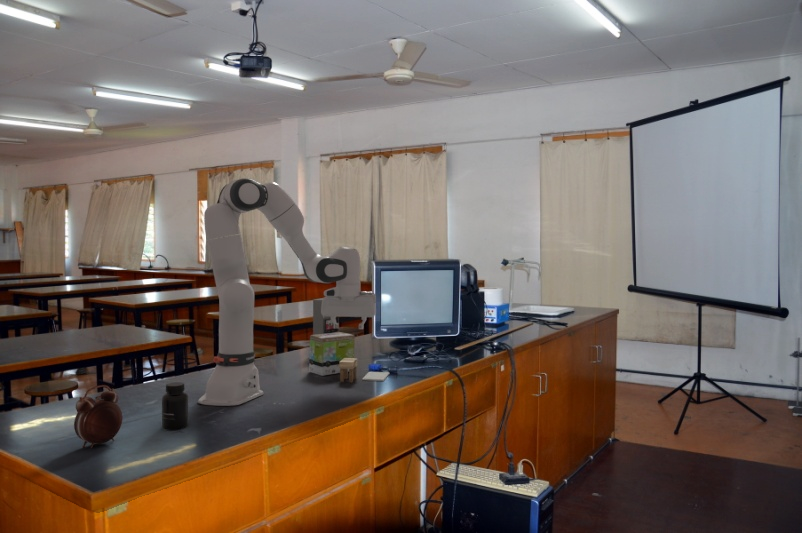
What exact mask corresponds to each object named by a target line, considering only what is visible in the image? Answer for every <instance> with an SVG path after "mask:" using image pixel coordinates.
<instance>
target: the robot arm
mask: <svg viewBox="0 0 802 533" xmlns="http://www.w3.org/2000/svg"><path fill="white" fill-rule="evenodd" d="M254 210H258V211H260V212H261V213H262V214H264V217H265V218H266V220H267V221H268V222H269V223H270V225H271V226H272V227H273V228H274V229H275V231H276V232H277V233H279V235H280V236H281V237H282V238H283V239H284V240H285V241H286V242H287V244H288V246H289V247H290V249H292V251H293V253H294V254H295V255H296V257H297V258H298V260H299V261H300V263H301V266H302V267H301V268H302V271H303V274H304V276H305V278H306V279H308V281H310V282H312V283H317V284H318V283H320V284H321V283H322V284H331V283H332V284H333V283H334V282H336V283H335V284H336V286H335V287H331V288H328V289H326V290H324V291H323V296H324V297H322V298H323V300H322V305H321V314H322V315H323V316H331V321H332V322H333V324H334V329H338V328H340V322H339V323H336V321H335V319H336V316H339V317H345V318H347V317H350V318H353V317H354V318H361V320H362V322H360V323H358V330H364V324H365V323H366V321H367V318H374V317H375V316H376V314H377V307H376V303H377V295H376V293H374V292H373V291H361V279H360V275H361V256H360V252H359V250H357V249H356V248H353V247H349V246H348V247H347V246H340V247H338V248H337V249H336V250H334V251H332V252H331V253H329V254H327V255H324V256H323V255H320V254H319V253H317V252H316V250H314V248H313V247H312V246H311V244H310V243H309V241H308V239H307V238H306V236H305V235H304V232H303V228H304V225H305V216H304V215H303V212H302V211H301V209H300V207H298V205H297V204H296V202H295V201H294V200H293V198H292V197H291V195H289V194H288V193H287V192H286V190H285V189H283V187H282V186H280V184H278V183H276V182H275V181H270V182H265V183H264V184H262V183H260V182H258V181H256V180H253V179H252V178H246V177H245V178H239V179H234V180H232V181H230V182H229V183H227V184H225V185H224V186H223V187H222V188H221V190H220V193H219V195H218V199H217V202H216V203H214V204H211V205H209V206H208V207H206V209H205V210H204V215H203V216H204V217H203V221H204V232H205V237H206V243H207V244H206V245H207V248H208V252H209V257H210V262H211V267H212V273H213V276H214V277H213V278H214V283H215V286H216V292H217V296H218V299H219V302H218V303H219V308H218V310H219V312H218V314H219V316H218V318H219V319H218V353H217V355H216V356H213V359H212V362H213V363H215V364H216V366H215V367H214V370H213V371H212V372H211V375H210V376H209V379H208V380H207V381H206V383H205V384H206V386H205V393H204V394H203V395H201V397H200V398H199V399H198V401H197V403H198V404H201V405H206V406H223V407H225V406H227V407H228V406H229V407H230V406H239V405H241V404H245V403H247V402H249V401H251V400H253V399H256V398H258V397H261V396H263V395H264V391H263V390H261V387H260V376H259V369H258V368H257V366H256V365H255V356H256V354H255V350H254V320H255V318H254V317H255V290H254V287H253V286H252V285H251V283H250V277H249V272H248V267H247V258H246V253H245V249H244V243H243V238H242V233H241V229H240V226H239V224H240V222H239V220H240V216H241V214H245V213H248V212H251V211H254ZM338 325H339V326H338Z"/></svg>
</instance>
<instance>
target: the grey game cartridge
mask: <svg viewBox="0 0 802 533" xmlns="http://www.w3.org/2000/svg"><path fill="white" fill-rule="evenodd" d="M323 298H324V297H322V298H316V299H315V298H314V299H313V300H312V335H318V334H327V333H338V332H340V331H339V328H340V321H339V320H340V318H339V317H340V316H336V319H335V321H336V323H339V325H338V326H339V328H338V329H334V324H333V322H332V321H331V316H323V315H322V314H321V305H322V300H323Z"/></svg>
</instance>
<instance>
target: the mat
mask: <svg viewBox="0 0 802 533" xmlns="http://www.w3.org/2000/svg"><path fill="white" fill-rule="evenodd" d="M389 376H390V372H385V371H384V372H382V371H368V372H367V373H366V374H365V375H364V377H362V381H370V382H371V381H372V382H384V381H385V380H386V379H387V378H388V377H389Z"/></svg>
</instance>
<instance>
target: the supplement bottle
mask: <svg viewBox="0 0 802 533" xmlns="http://www.w3.org/2000/svg"><path fill="white" fill-rule="evenodd" d="M165 392H166V393H164V394H163V395H162V397H161V428H162V429H164V430H166V431H178V430H183V429H185V428H187V427H188V424H189V395H188V393H187V392H185V383H184V382H179V381H177V382H175V381H174V382H168V383H166V384H165Z"/></svg>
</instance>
